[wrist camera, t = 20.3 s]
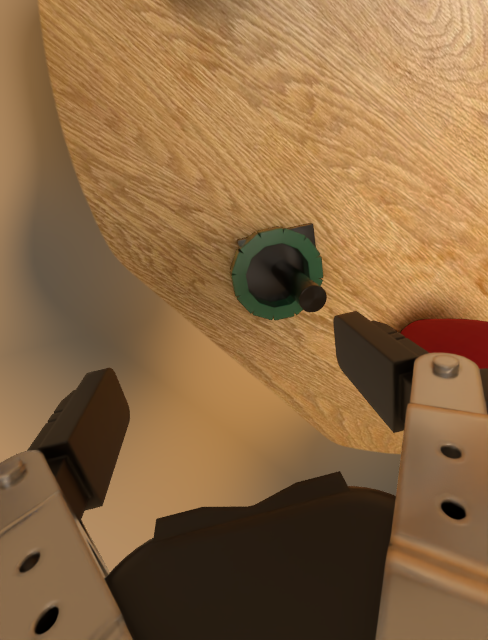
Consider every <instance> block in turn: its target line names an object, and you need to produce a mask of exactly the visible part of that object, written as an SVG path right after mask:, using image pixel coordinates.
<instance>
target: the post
mask: <svg viewBox="0 0 488 640" xmlns="http://www.w3.org/2000/svg"><path fill="white" fill-rule="evenodd" d="M286 229H289V230H292V231H295V232H297V233H300V234H303V235H305V237H308V238H309V240H310V241H311V242H312V244H313V245H314V246H315V248H316V245H315V236H314V228H313V224H312V223H308V224H303V225H299V226H295V227H290V228H286ZM247 238H248V237H246V238H242V239H237V244H238V246H239V245H241V244H242V243H243V242H244V241H245V240H246V239H247ZM238 249H239V250H240V248H239V247H238ZM246 279H247V284H248V288H249V290H250V291H251V292H252V293H253V294H254V295H255V296H256V297H257V298H260V299H263V300H266V301H270V302H273V301H278V300H282V299H286V298H287V297H289V296H290V295H291V296H292V298H293V299H294V300H295V301H296V302H297V303H298V304H299V305H300V307H301V308H302V309H303V310H305V311H307V312H316V311H318V310H320V309H321V308H322V307H323V306H324V304H325V302H326V292H325V290H324V289H323V288H322V287H320V286H319V285H318V284H316V283H315V282H314V281H312V280H311V279H310V278H308V277H307V276H306V275H305V274H304V269H303V260H302V257H301V256H300V255H299V254H298V252H297V251H296V250H295V248H294V247H291V246H288V245H285V244H283V243H281V244H276V245H271V246H267V247H264V248H263V249H262V250H261V251H260V252H259V253H257V254H256V255H255V256H254V257H253V258H252V259H251V262H250V265H249V267H248V270H247V273H246Z"/></svg>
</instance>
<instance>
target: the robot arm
mask: <svg viewBox="0 0 488 640" xmlns="http://www.w3.org/2000/svg"><path fill="white" fill-rule="evenodd" d="M334 334H335V346H336V356H337V360H338V363H339V366H340V368H341V370H342V371H343V372H344V374H345V375H346V376H347V377H348V378H349V380H350V381H351V382H352V383H353V384H354V386H355V387H356V388H357V389H358V390H359V392H360V393H361V394H362V395H363V397H364V398H365V399H366V400H367V401H368V403H369V404H370V405H371V406H372V407H373V409H374V410H375V411H376V412H377V413H378V415H379V416H380V417H381V418H382V419H383V421H384V422H385V423H386V424H387V425H388V427H389V428H390V429H391V430H392V431H393V433H395V432H399V431H403V430H404V435H403V443H402V451H401V460H400V467H399V476H398V484H397V492H396V496H394V495H392V494H389V493H386V492H383V491H380V490H376V489H371V488H366V487H357V486H356V487H355V486H347V484H346V482H345V480H344V478H343V476H342V474H341V473H340V471H339V472H335V473H332V474H328V475H324V476H320V477H317V478H313V479H308V480H305V481H301V482H297V483H295V484H293V485H291V486H289V487H287V488H285V489H283V490H282V491H280V492H278V493H276V494H274V495H272V496H271V497H269V498H267V499H265V500H263V501H261V502H259V503H257V504H255V505H253V506H248V507H201V508H197V509H193V510H189V511H185V512H181V513H177V514H174V515H170V516H166V517H162V518H158V519H156V526H155V532H154V538H152V539H150V540H148V541H147V542H146V543H144V544H143V545H141V546H139V547H138V548H136V549H135V550H134V551H133V552H132V553H130V554H129V555H128V556H127V557H125V558H124V559H123V560H122V561H121V562H120V563H119V564H118V565H117V566H116V567H115V568H114V569H113V570H112V571H111V572H109V570H108V569H107V566H106V565H105V563H104V561H103V559H102V557H101V555H100V553H99V551H98V550H97V548H96V546H95V544H94V542H93V540H92V538H91V537H90V534H89V533H88V531H87V529H86V527H85V525H84V524H83V522H82V520H81V518H82V516H83V513H84V511H85V510H88V509H93V508H96V507H100V506H102V505H103V502H104V499H105V496H106V493H107V490H108V487H109V484H110V480H111V477H112V474H113V471H114V468H115V465H116V462H117V459H118V455H119V452H120V449H121V446H122V443H123V440H124V436H125V433H126V430H127V427H128V424H129V420H130V411H129V406H128V403H127V401H126V398H125V396H124V393H123V391H122V389H121V386H120V384H119V381H118V379H117V376H116V375H115V372H114V371H113V369H111V368H106V369H102V370H98V371H93V372H89V373H87V374H86V375H85V377H84V378H83V380H82V382H81V383H80V385H79V386H78V388H77V389H76V390H74V391H73V392H71V393H70V394H69V395H68V396H67V397H66V398H65V399H63V400H62V401H61V402H60V404H59V405H58V407H57V408H56V410H55V411H54V414H52V415H51V417H50V418H49V420H48V423H46V424H45V426H44V427H43V428H42V430H41V431H40V433H39V435H38V436H37V437H36V439H35V440H34V442H33V443H32V444H31V446H30V448H29V449H28V450H27V451H25V452H21V453H19V454H16V455H14V456H12V457H10V458H8V459H6V460H5V461H3V462H1V463H0V640H488V368H484V369H479V367H478V366H477V365H476V364H475V363H474V362H473V361H471V360H470V359H468V358H465V357H463V356H460V355H456V354H451V353H429V352H428V351H426V350H425V349H423V348H422V347H420V346H419V345H417V344H416V343H414V342H413V341H411V340H410V339H408V338H405V336H404V335H402V334H401V333H399V332H398V333H397V331H396V330H395V329H393V328H392V327H390V326H389V325H387V324H384V323H380V322H377V321H370V320H368V319H367V318H365V317H364V316H363V315H361V314H360V313H358V312H357V311H354V312H350V313H345V314H341V315H337V316H335V317H334Z"/></svg>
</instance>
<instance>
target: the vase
mask: <svg viewBox="0 0 488 640" xmlns="http://www.w3.org/2000/svg"><path fill="white" fill-rule="evenodd" d="M401 334H402V335H404V336H405V338H408V339H410V340H411V341H413V342H414V343H416V344H417V345H419V346H420V347H422V348H423V349H425V350H426V351H428V352H429V353H451V354H456V355H460V356H463V357H465V358H468V359H470V360H471V361H473V362H474V363H475V364H476V365H477V366H478V367H479V369H484V368H488V322H486V321H479V320H470V319H422V320H417V321H415V322H412V323H411V324H409V325H408V326H406V327H405V328H404V329H403V330H402V331H401Z"/></svg>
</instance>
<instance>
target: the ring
mask: <svg viewBox="0 0 488 640" xmlns="http://www.w3.org/2000/svg"><path fill="white" fill-rule="evenodd" d="M281 243H283V244H285V245H288V246H291V247H294V248H295V250H296V251H297V252H298V254H299V255H300V256H301V257H302V260H303V269H304V274H305V275H306V276H307V277H308V278H310V279H311V280H312V281H314V282H315V283H316V284H318V285H319V286H321V284H322V281H323V280H322V279H320V278H323V269H322V258H321V256H319V255H320V253H319V252H318V250H317V249H316V248H315V246H314V245H313V244H312V242H311V241H310V240H309V238H308V237H305V235H303V234H300V233H297V232H295V231H292V230H289V229H286V228H284V227H278V226H277V227H272V228H267V229H263V230H258V231H257V233H255V232H254V233H253V234H252V235H251V236H249V237H248V238H247V239H246V240H245V241H244V242H243V243H242V244H241V245H239V246H238V247H239V248H240V250H239V249H237V250H236V253H235V256H234V259H233V262H232V265H231V268H230V269H231V271H230V274H231V279H232V283H233V288H234V292H235V296H236V297H237V299H238V301H239V302H240V303H241V304H242V305H243V306H244V307H245V308H246V309H247V310H248V311H249V312H250V313H252V314H253V315H255V316H259V317H262V318H266V319H269V320H272V319H274V320H279V319H283V318H288V317H293V316H294V313H295V314H296V315H297V314H299V313H300V312H301V311H302V310H303V309H302V308H301V307H300V305H299V304H298V303H297V302H296V301H295V300H294V299H293V298H292V296H291V295H290V296H289V297H287V298H286V299H282V300H278V301H273V302H270V301H266V300H263V299H260V298H257V297H256V296H255V295H254V294H253V293H252V292H251V291H250V290H249V288H248V284H247V279H246V273H247V270H248V267H249V265H250V262H251V259H252V258H253V257H254V256H255V255H256V254H257V253H259V252H260V251H261V250H262V249H263V248H264V247H267V246H271V245H276V244H281Z"/></svg>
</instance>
